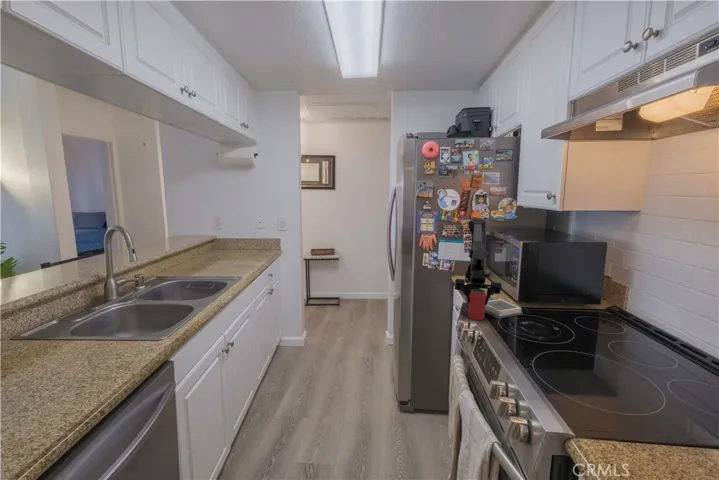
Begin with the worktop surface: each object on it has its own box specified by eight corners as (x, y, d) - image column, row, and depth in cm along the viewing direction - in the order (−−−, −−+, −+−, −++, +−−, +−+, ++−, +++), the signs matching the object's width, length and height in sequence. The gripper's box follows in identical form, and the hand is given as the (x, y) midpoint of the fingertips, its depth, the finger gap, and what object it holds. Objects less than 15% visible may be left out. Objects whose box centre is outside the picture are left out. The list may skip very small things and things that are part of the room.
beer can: (474, 321, 132) (476, 293, 130) (464, 315, 138) (466, 288, 136) (487, 319, 133) (489, 292, 131) (477, 313, 140) (479, 287, 138)
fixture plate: (466, 302, 153) (466, 296, 153) (489, 299, 158) (489, 293, 158) (497, 318, 135) (498, 311, 134) (522, 314, 140) (523, 307, 139)
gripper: (456, 260, 138) (454, 293, 130) (503, 264, 133) (504, 298, 124) (455, 273, 147) (453, 304, 138) (499, 277, 142) (500, 309, 133)
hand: (477, 304), depth 133 cm, fingers closed on beer can, 7 cm apart
